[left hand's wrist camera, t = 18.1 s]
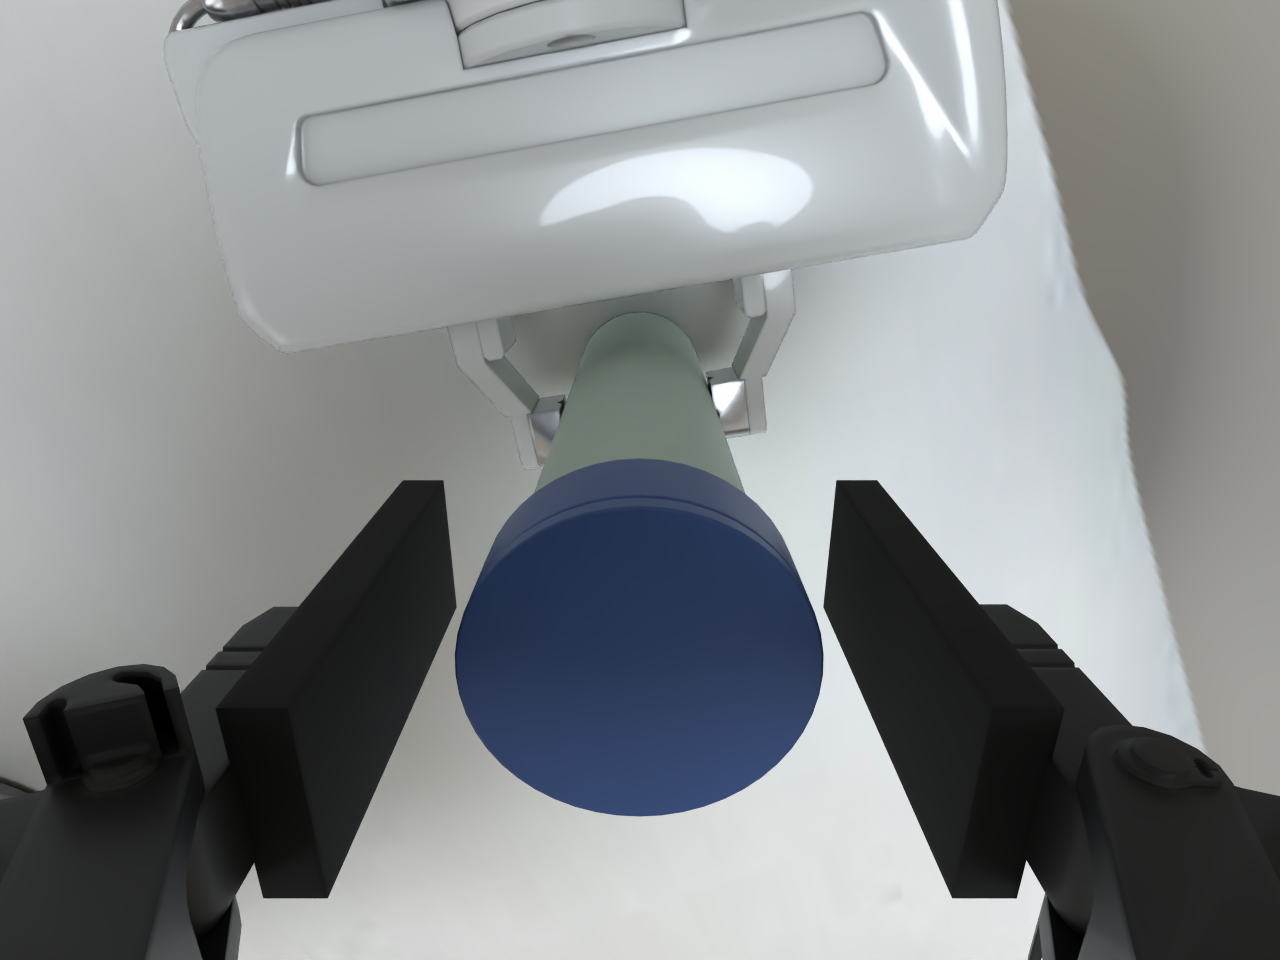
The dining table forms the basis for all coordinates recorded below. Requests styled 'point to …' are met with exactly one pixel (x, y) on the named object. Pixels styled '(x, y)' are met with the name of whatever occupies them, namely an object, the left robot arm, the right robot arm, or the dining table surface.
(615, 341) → the pale green cylinder
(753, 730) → the lid
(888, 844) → the dining table surface
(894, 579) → the left robot arm
